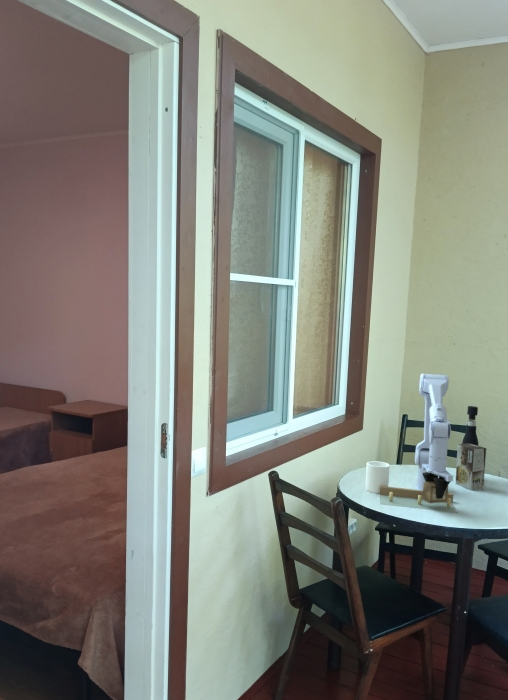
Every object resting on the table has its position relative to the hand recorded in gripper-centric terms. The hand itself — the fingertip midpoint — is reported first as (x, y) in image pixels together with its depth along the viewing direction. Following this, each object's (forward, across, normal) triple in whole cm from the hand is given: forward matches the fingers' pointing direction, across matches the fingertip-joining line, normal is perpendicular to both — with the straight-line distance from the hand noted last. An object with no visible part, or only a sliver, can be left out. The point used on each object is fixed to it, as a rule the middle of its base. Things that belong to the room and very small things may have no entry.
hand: (435, 496), depth 191 cm
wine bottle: (+5, -28, +36) cm, 46 cm away
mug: (+5, -22, -9) cm, 24 cm away
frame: (+2, 0, 0) cm, 2 cm away
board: (+4, -5, -4) cm, 7 cm away
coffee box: (+5, -20, +30) cm, 37 cm away
